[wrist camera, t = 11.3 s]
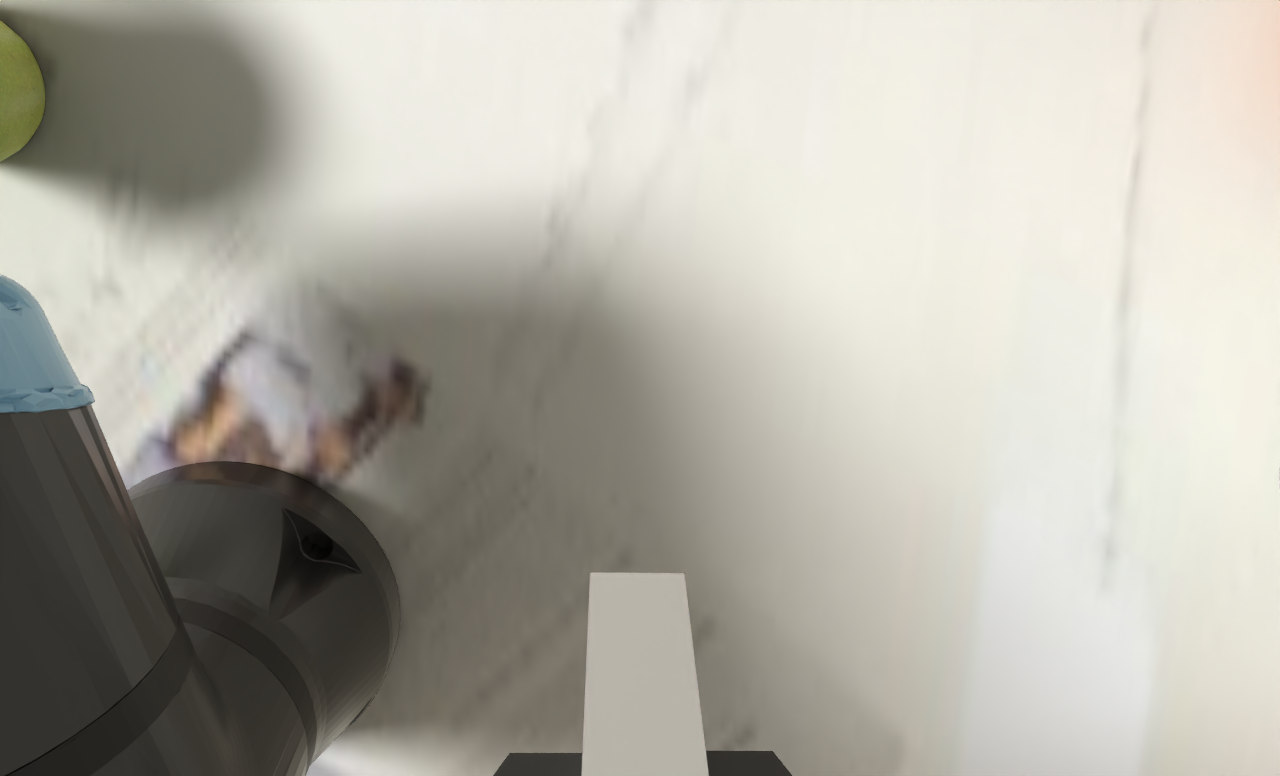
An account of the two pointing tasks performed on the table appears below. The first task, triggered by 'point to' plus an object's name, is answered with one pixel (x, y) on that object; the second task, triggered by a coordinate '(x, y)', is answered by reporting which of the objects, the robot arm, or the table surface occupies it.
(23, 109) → the plant pot
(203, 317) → the table surface
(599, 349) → the table surface
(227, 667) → the robot arm
